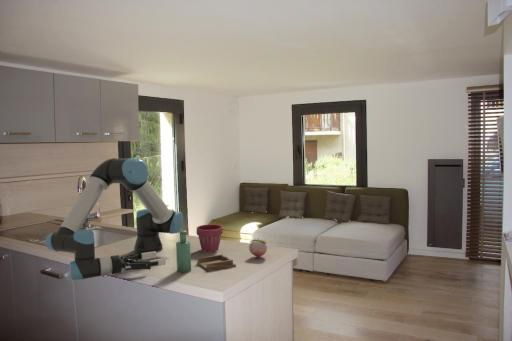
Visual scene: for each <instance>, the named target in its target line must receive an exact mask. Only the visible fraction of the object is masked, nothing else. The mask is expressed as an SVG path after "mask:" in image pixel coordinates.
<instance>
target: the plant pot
mask: <svg viewBox="0 0 512 341" xmlns="http://www.w3.org/2000/svg"><path fill="white" fill-rule="evenodd" d="M223 230H224V229H223V226H222V225H221V224H220V225H219V224H211V223H210V224H201V225H199V226H197V227H196V235H197V236H198V239H199V244H200V248H201V251H202V252H204V251H205V252H206V253H213V251H214V252H217V251H218V250H219V247H220V243H221V237H222V235H223V232H224V231H223ZM205 252H204V253H205Z"/></svg>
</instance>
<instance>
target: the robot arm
mask: <svg viewBox="0 0 512 341" xmlns="http://www.w3.org/2000/svg"><path fill="white" fill-rule="evenodd" d="M148 169H149V168H148V165H147V164H146V163H145V161H144V160H142V159H141V158H135V157H129V158H114V157H113V158H109V159H105V161H102V163H100V164H99V165H98V166H97V167H96V168H95V169H93V171H92V172H91V174H90V175H89V177H88V178H87V180H88V183H87V185H86V186H85V187H84V189H83V191H82V192H81V193H80V195H79V197H78V198H77V200H75V202H74V204H73V206H72V208H71V209H70V210H69V212H68V213H67V215H66V217H65V218H64V220H63V222H62V223H61V224H60V225H59V228H58V229H57V231H54V232H51V233H49V234H48V235H47V236H46V238H45V241H44V242H45V243H44V244H45V247H46V248H47V249H48V250H50V251H53V252H57V253H58V252H61V253H71V254H74V260H73V261H70V262H69V269H68V270H69V277H70V279H71V280H72V281H76V280H77V281H78V280H86V279H92V278H96V277H97V278H99V277H103V278H105V276H108V275H111V274H112V275H117V274H120V273H122V269H125V271H131V270H133V271H134V270H150V271H151V268H154V267H161V266H166V258H164V257H163V258H158V259H156V258H157V253H158V252H161V251H162V250H163V249H164V248H163V243H162V241H161V237H160V235H159V234H171V235H172V234H177V233H178V234H179V231H181V229H182V227H183V225H184V216H183V213H182V212H180V211H175V210H174V209H173V207H172V206H170V205H169V204H166V203H165V202H164V200H163V198H161V196H160V195H159V194H158V192H157V191H156V190H155V189H154V188H153V186H152V185H151V183H150V182H149V180H148V179H149V170H148ZM112 184H121V185H122V186H123V187H125V189H126V190H127V191H129V192H133V194H135V197H137V198H138V200H139V201H140V202H141V203H142V205H143V206H144V207H145V208H143V209H140V210H137V211H136V215H135V216H136V218H135V222H136V240H135V243H134V247H133V252H134V253H131V254H126V255H124V256H120V255H119V254H117V255H116V254H115V255H110V256H101V257H96V255H95V253H96V252H95V248H96V247H95V234H94V231H93V229H82V228H83V225H84V224H85V222H86V220H87V218H88V217H89V216H90V214H91V212H92V211H93V209H94V208H95V205H96V204H97V202H98V201H99V199H100V197H101V196H102V194H103V193H104V191H107V190H109V189H108V188H109V187H110V186H111V185H112ZM154 258H155V259H154ZM149 259H151V260H149ZM148 260H149V261H148Z"/></svg>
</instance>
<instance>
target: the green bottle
mask: <svg viewBox="0 0 512 341" xmlns="http://www.w3.org/2000/svg"><path fill="white" fill-rule="evenodd" d="M187 232H188V230H185V229H184V230H180V231H179V232H178V234H179V241H177V242H175V245H176V246H175V247H176V248H175V251H176V253H175V255H176V272H177V273H179V274H185V273H186V274H187V273H190V272H191V271H192V255H191V250H192V249H191V248H192V247H191V241H188V240H187Z"/></svg>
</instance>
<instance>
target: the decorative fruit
mask: <svg viewBox="0 0 512 341" xmlns="http://www.w3.org/2000/svg"><path fill="white" fill-rule="evenodd" d="M248 249H249V252H250V253H251V254H252V255H253V256H255V257H257V258H260V257H263V256H264V255H265V254H266V253H267V250H268V245H267V241H265V240H263V239H251V240H250V241H249V246H248Z"/></svg>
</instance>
